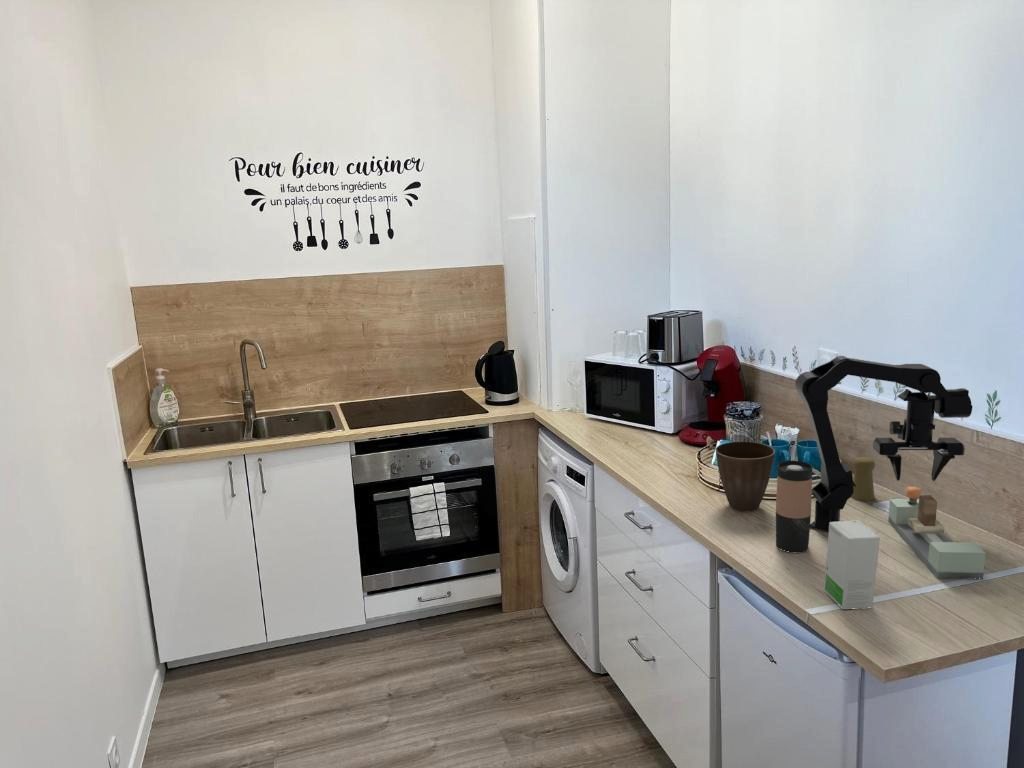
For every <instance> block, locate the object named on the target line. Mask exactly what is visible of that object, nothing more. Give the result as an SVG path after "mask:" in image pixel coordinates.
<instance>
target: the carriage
mask: <svg viewBox="0 0 1024 768" xmlns="http://www.w3.org/2000/svg"><path fill="white" fill-rule="evenodd" d="M937 509H938V501H937V500H936V499H935V498H934V497H933V496H932V495H931V494H930V495H929V494H921V495H919V507H918V518H909V520H908V524H909V525H910V527H911V528H912V529H913V530H914V531H915V532H916V533H944V534H945V526H944V525H943V523H941V522H940V521H939V520H938V519H937V512H938V511H937ZM936 511H937V512H936Z"/></svg>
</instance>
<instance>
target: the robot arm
mask: <svg viewBox="0 0 1024 768" xmlns="http://www.w3.org/2000/svg"><path fill="white" fill-rule="evenodd" d="M847 376H853V377H858V378H859V377H860V378H865V379H872V380H878V381H883V382H890V383H897V384H899V385H902V386H904V387H907V388H906V389H904V391H903V392H901V393H899V394H898V396H897V397H898V399H900V400H902V401H904V402H907V403H906V404H907V405H906V417H905V418H904V421H903V424H901V422H900V421H896V420H895V421H894V420H893V421H889V429H888V430H889V435H897V439H900V440H902V441H895V440H894V438H892V437H875V439H873V441H872V448H873V450H874V451H875V452H877V453H878V455H881V456H885V457H887V459H889V461H890V464H891V467H892V470H893V474H894V476H895V479H896V481H898V482H899V481H900V479H901V475H902V474H901V472H902V470H901V469H902V457H903V456H901V455H900V454H899V451H932V454H933V461H932V468H931V481H933V482H935V481H936V480H937V478H938V477H939V476H940V474H941V473H942V471H943V469H944V468H945V467H946V466H947V464H948V463H949V462H950V461H951V460H953V459H955V458H956V456H964V455H965V449H966V448H965V445H964V443H963V442H962V441H960V440H958V439H957V438H956V437H938V439H937V441H933V436H934V435H933V433H934V430H936V425H935V423H934V422H935V421H934V419H935V414H937V415H938V416H939V417H940V418H941V419H947V418H949V419H952V418H954V419H956V418H957V419H958V418H959V419H960V418H961V419H962V418H970V416H971V415H972V413H973V405H972V400H971V398H970V397H971V396H970V395H969V394H970V393H969V389H967V388H963V387H962V388H953V389H946V387H945V386H944V385H943V384H942V382H941V378H942V377H941V374H939V371H938V370H936V369H935V368H932V367H930V366H927V365H925V364H923V363H903V364H890V363H889V364H888V363H883V362H877V361H871V360H864V359H859V358H858V359H857V358H850V357H847V356H845V355H838V356H836V357H834V358H832V359H831V360H829V361H827V362H825V363H823V364H821V365H818V366H816V367H815V368H813V369H811V370H810V371H805V372H802V373H800V374H799V375H798V376H797V377H796V379H795V382H794V383H795V384H794V385H795V389H796V390H797V393H798V395H799V396H800V399H801V400H802V402H803V404H804V406H805V407H806V409H807V412H808V415H809V419H810V423H811V426H812V431H813V435H814V438H815V442H816V446H817V450H818V453H819V454H818V455H819V457H820V461H821V468H820V481H819V483H817V484H816V485H815V486H814V487H812V495H813V498H814V499H815V505H814V507H815V508H814V520H813V522H810V529H811V528H812V529H815V530H819V531H823V532H828V533H829V522H838V521H841V510H843V509H844V508H845V506H846V504H847V502H848V500H849V499H850V498H851V496H852V495H853V493H854V488H853V486H856V485H855V484H854V482H853V479H854V476H853V471H852V470H851V469H850V468H849V466H847V465H846V464H845V463H844V462H842V463H841V458H840V454H839V451H838V448H837V444H836V440H835V436H834V432H833V428H832V424H831V420H830V417H829V412H828V404H829V391H830V390H832V389H833V388H835V387H836V386H837V385H838V384H839V383H840V382H841V381H842V380H843V379H844V378H845V377H847ZM908 388H910V389H913V390H915V392H914V391H911V390H910V389H908ZM928 393H930V395H929V394H928ZM931 394H933V395H931Z"/></svg>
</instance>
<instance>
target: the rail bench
mask: <svg viewBox="0 0 1024 768" xmlns="http://www.w3.org/2000/svg"><path fill="white" fill-rule="evenodd" d="M909 499H910V498H908V499H906V498H904V499H903V498H902V499H901V498H897V499H896V498H895V499H894V498H890V499H889V507H888V508H889V509H888V521H887V522H888V523H889V525H890V526H891V527H892V528H893V529H894V530H895V532H896V533H897V534H898V535H899V536H900V537H901V539H902V540H903V541H904V542H905V543H906V544H907V545H908V547H909V548H910V549H911V550H912V551H913V552H914V553H915V555H916V556H917V557H918V558H919V559H920V561H921V562H922V563H923V564H924V566H925V567H926V568H927V569H928V570H929V571H930V572H931V573H932V575H933V576H935V578H936V579H946V580H947V579H951V580H954V578H955V579H956V578H973V579H972V580H984V572H985V563H986V551H984V550H983V549H982V547H980V546H979V545H978V544H977V543H976V542H965V541H964V542H960V541H959V542H957V541H956V542H953V540H952V539H950V538H949V537H948V535H946V534H945V532H944V533H916V532H915V531H914V530H913V529H912V528H911V527H910V525H909V524H908V520H909V518H918V507H919V499H917V505H910V504H909ZM937 512H938V511H936V513H937ZM974 578H976V579H974ZM979 578H980V579H979ZM956 580H957V579H956Z"/></svg>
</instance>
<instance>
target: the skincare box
mask: <svg viewBox="0 0 1024 768" xmlns="http://www.w3.org/2000/svg"><path fill="white" fill-rule="evenodd" d="M880 538H881V537H880V536H879V535H877V534H876V533H875V532H873V530H872V529H871V527H869V526H866V525H865V524H863V523H862V522H861V521H860V520H859V519H853V520H842V521H841V520H840V521H838V522H829V532H828V538H827V552H826V559H825V560H826V561H825V571H824V572H825V573H824V585H823V591H824V593H826V594H827V595H828V596H830V597H831V598H832V599H833V600H834V601H836V602H837V603H838V604H839V605H840V606H841V607H842V608H843V609H852V608H867V609H869V608H868V607H873V608H874V596H875V587H876V578H877V568H878V559H879V549H880V548H879V547H880V540H881V539H880ZM830 597H829V598H830ZM831 598H830V599H831ZM834 601H833V602H834Z"/></svg>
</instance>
